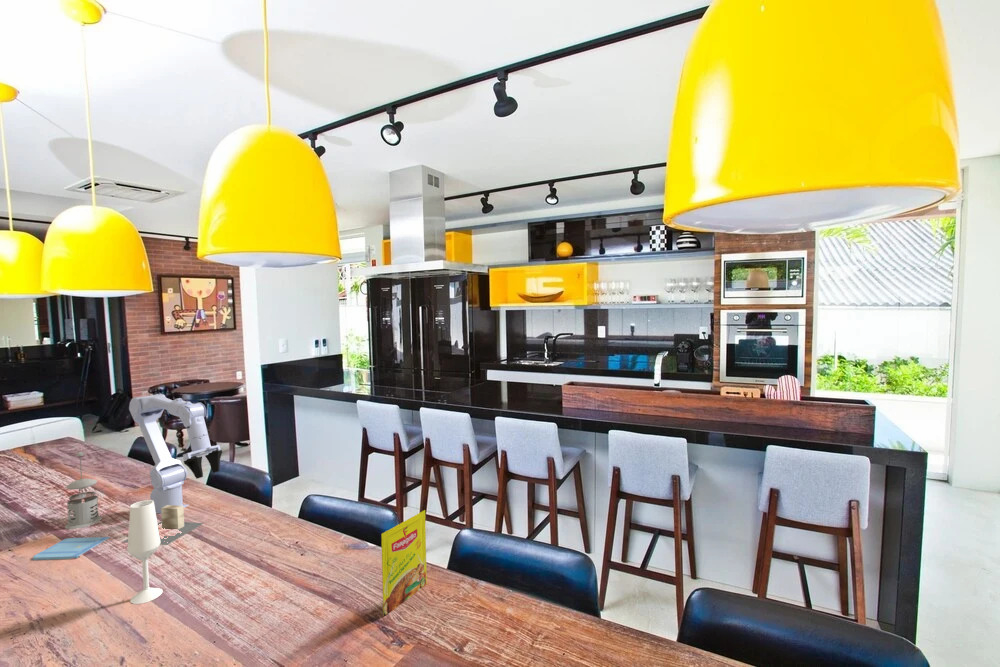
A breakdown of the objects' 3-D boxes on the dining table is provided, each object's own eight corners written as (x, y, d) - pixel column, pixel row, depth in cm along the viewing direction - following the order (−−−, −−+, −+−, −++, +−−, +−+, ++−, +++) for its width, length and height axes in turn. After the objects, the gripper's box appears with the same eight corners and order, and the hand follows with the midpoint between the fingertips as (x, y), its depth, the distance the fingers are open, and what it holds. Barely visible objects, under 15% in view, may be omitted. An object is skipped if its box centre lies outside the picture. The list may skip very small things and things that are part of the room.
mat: (121, 543, 146) (121, 542, 146) (162, 522, 161) (162, 520, 161) (166, 546, 144) (166, 544, 144) (203, 524, 159) (203, 523, 159)
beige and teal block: (162, 528, 155) (161, 508, 155) (168, 525, 158) (168, 504, 158) (178, 529, 155) (177, 508, 154) (184, 525, 157) (183, 505, 157)
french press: (64, 532, 155) (59, 458, 154) (65, 520, 164) (61, 450, 163) (102, 523, 162) (98, 452, 160) (102, 512, 170) (98, 445, 169)
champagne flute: (123, 600, 117) (118, 507, 116) (151, 585, 123) (147, 497, 122) (141, 606, 114) (136, 510, 113) (169, 590, 121) (164, 500, 120)
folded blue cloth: (30, 561, 137) (30, 557, 137) (66, 541, 149) (66, 537, 149) (77, 560, 138) (77, 556, 138) (109, 540, 150) (109, 536, 150)
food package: (385, 617, 109) (382, 534, 108) (381, 616, 109) (379, 533, 109) (428, 584, 122) (426, 510, 121) (425, 583, 122) (423, 509, 122)
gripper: (192, 438, 156) (201, 477, 155) (223, 430, 170) (232, 466, 169) (174, 443, 157) (183, 483, 156) (207, 435, 171) (216, 471, 170)
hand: (208, 474), depth 162 cm, fingers open, 7 cm apart
